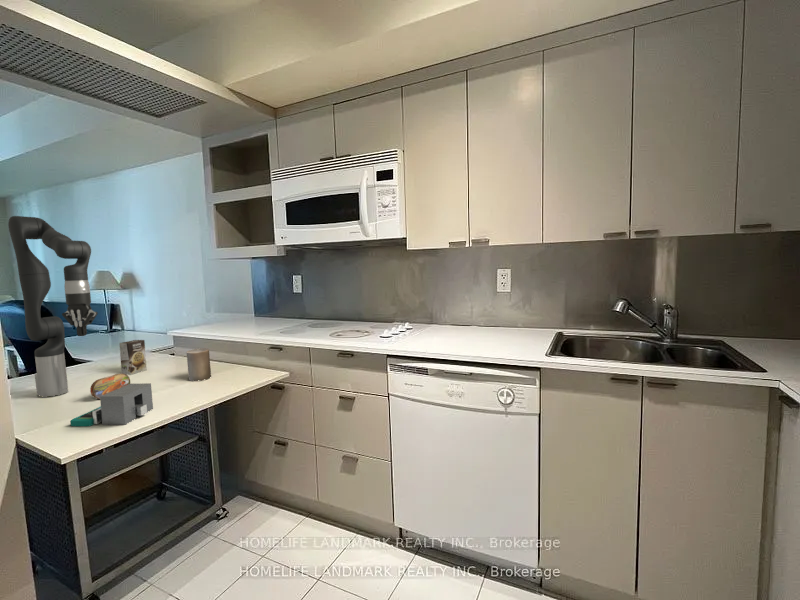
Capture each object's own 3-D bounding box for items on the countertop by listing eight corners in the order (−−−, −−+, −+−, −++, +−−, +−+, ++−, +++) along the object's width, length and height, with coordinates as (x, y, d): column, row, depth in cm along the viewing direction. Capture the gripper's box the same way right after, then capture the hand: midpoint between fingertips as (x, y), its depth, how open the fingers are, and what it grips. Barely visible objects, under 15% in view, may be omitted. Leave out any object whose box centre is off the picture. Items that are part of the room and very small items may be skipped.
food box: (131, 375, 192) (128, 343, 190) (121, 374, 193) (118, 342, 192) (147, 370, 200) (145, 339, 199) (138, 369, 202) (135, 339, 201)
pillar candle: (215, 376, 187) (213, 345, 186) (200, 382, 177) (198, 350, 176) (199, 375, 189) (196, 345, 188) (183, 381, 180) (180, 349, 179)
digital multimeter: (123, 411, 145) (122, 403, 144) (90, 427, 130) (89, 419, 129) (104, 411, 145) (104, 403, 145) (69, 427, 130) (68, 419, 130)
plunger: (93, 424, 131) (92, 411, 130) (137, 401, 152) (136, 391, 151) (130, 423, 130) (128, 411, 130) (169, 401, 151) (168, 390, 151)
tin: (95, 402, 154) (93, 381, 153) (89, 401, 155) (87, 380, 154) (131, 390, 168) (130, 371, 167) (126, 389, 169) (124, 370, 168)
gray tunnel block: (102, 424, 131) (99, 396, 130) (132, 409, 145) (130, 383, 144) (125, 424, 131) (122, 396, 130) (153, 409, 144) (150, 383, 144)
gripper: (102, 291, 153) (106, 333, 154) (69, 291, 153) (74, 334, 155) (86, 292, 145) (90, 337, 147) (52, 293, 146) (57, 337, 147)
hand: (82, 335), depth 151 cm, fingers closed
